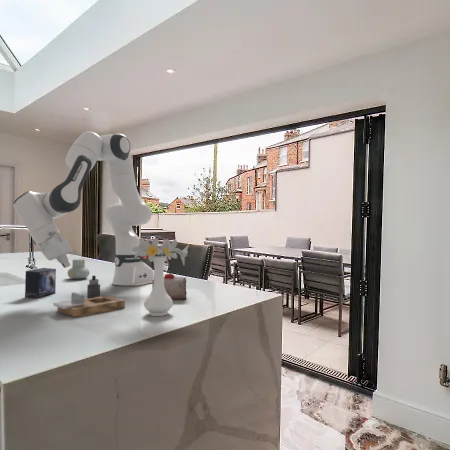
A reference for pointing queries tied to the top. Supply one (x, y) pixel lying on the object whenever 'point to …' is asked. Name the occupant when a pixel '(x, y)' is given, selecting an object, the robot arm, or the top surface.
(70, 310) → the socket
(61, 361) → the top surface
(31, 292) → the small box
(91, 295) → the bottle
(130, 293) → the top surface
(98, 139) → the robot arm
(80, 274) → the air freshener
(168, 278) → the food item
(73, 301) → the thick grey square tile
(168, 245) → the flower vase
